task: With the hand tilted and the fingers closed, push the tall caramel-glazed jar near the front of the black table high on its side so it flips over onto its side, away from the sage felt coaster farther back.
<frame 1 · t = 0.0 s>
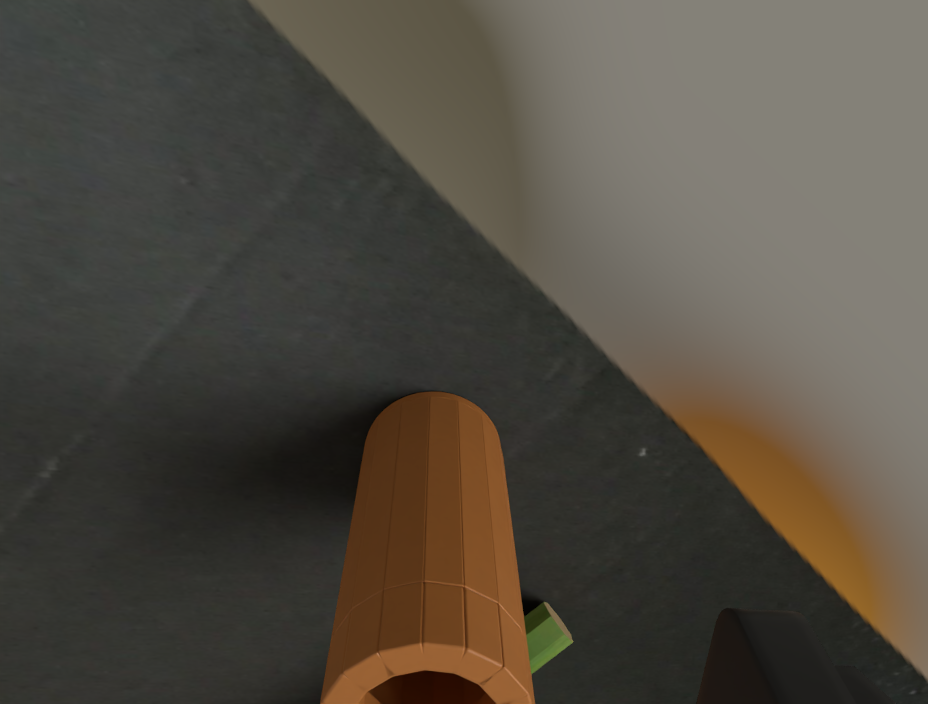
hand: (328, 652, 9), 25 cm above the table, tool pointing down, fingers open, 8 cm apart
jar: (433, 452, 37), on the table
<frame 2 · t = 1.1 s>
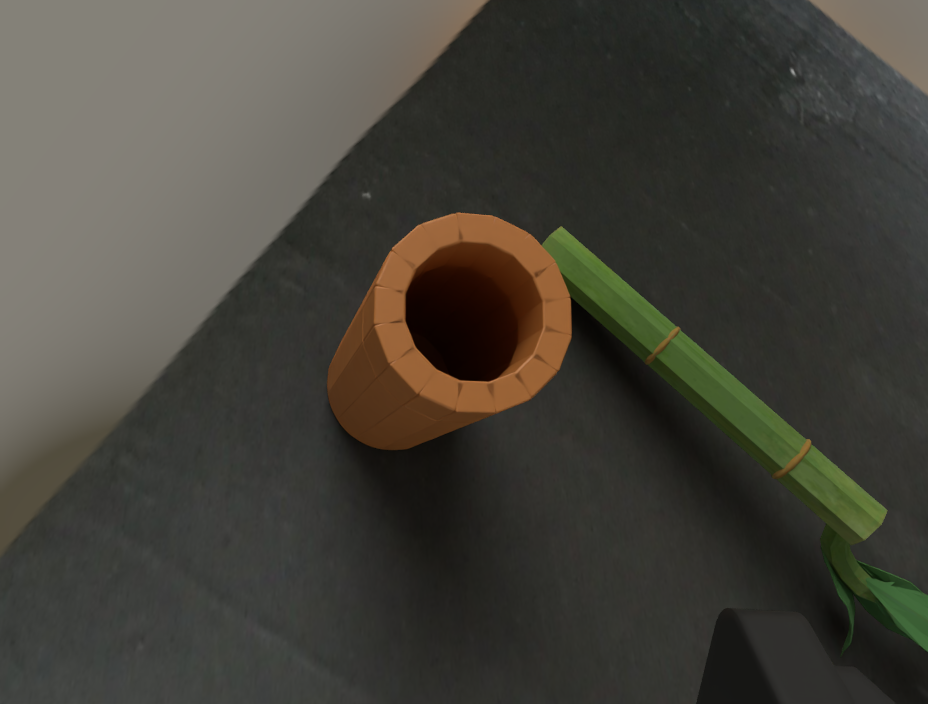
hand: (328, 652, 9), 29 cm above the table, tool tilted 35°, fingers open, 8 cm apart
jar: (391, 385, 39), on the table
decorative plant: (738, 470, 42), on the table
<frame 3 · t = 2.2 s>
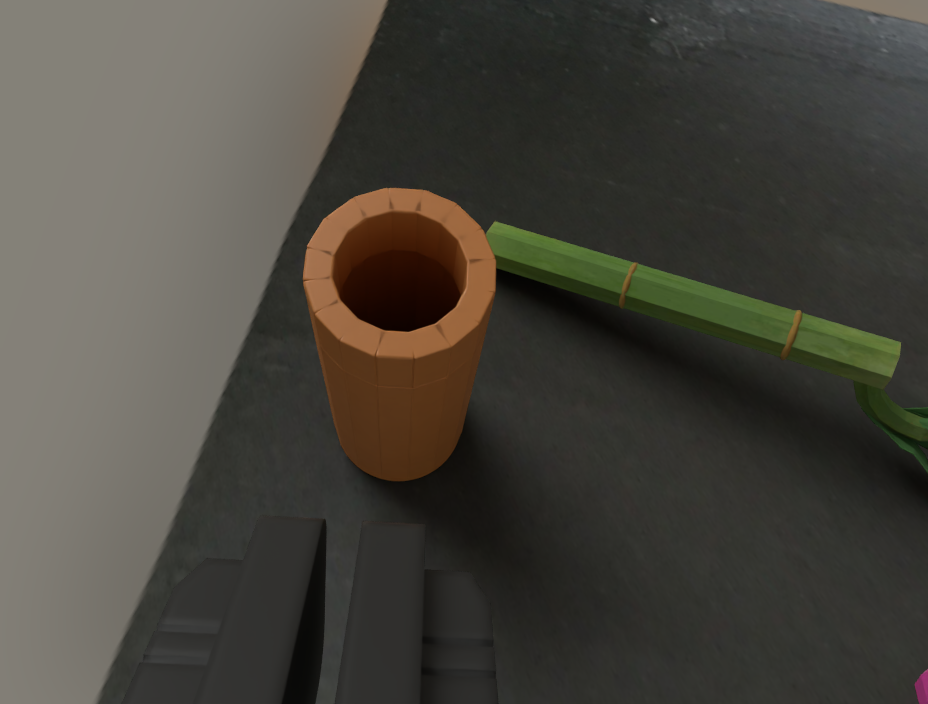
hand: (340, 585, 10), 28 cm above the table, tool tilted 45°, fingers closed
jar: (399, 420, 40), on the table
decorative plant: (755, 375, 42), on the table
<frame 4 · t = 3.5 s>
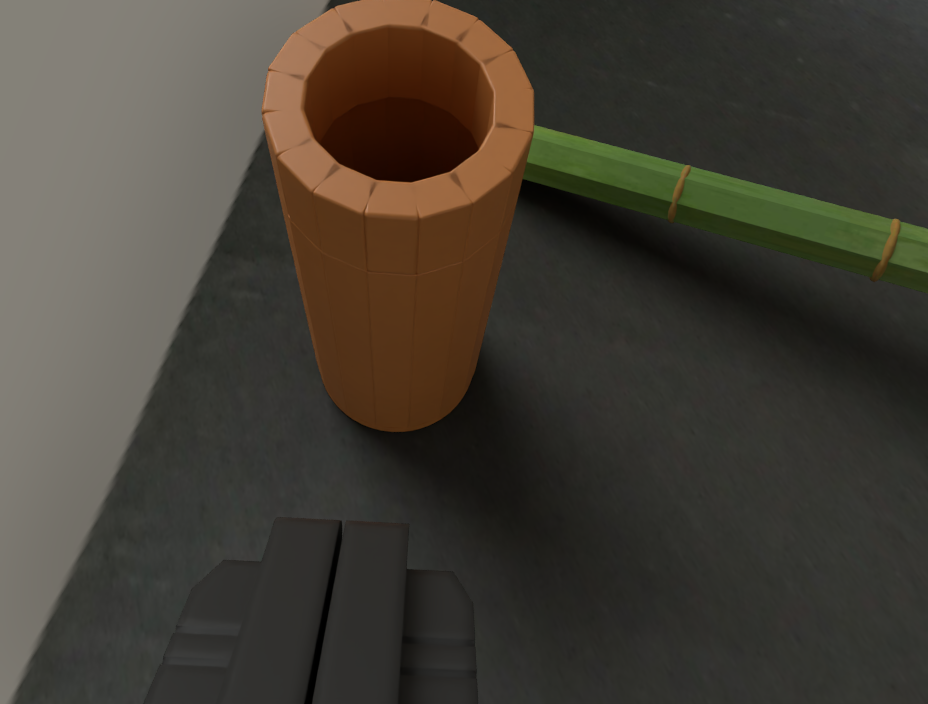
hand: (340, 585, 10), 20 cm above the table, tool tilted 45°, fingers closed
jar: (397, 358, 32), on the table
decorative plant: (831, 307, 34), on the table
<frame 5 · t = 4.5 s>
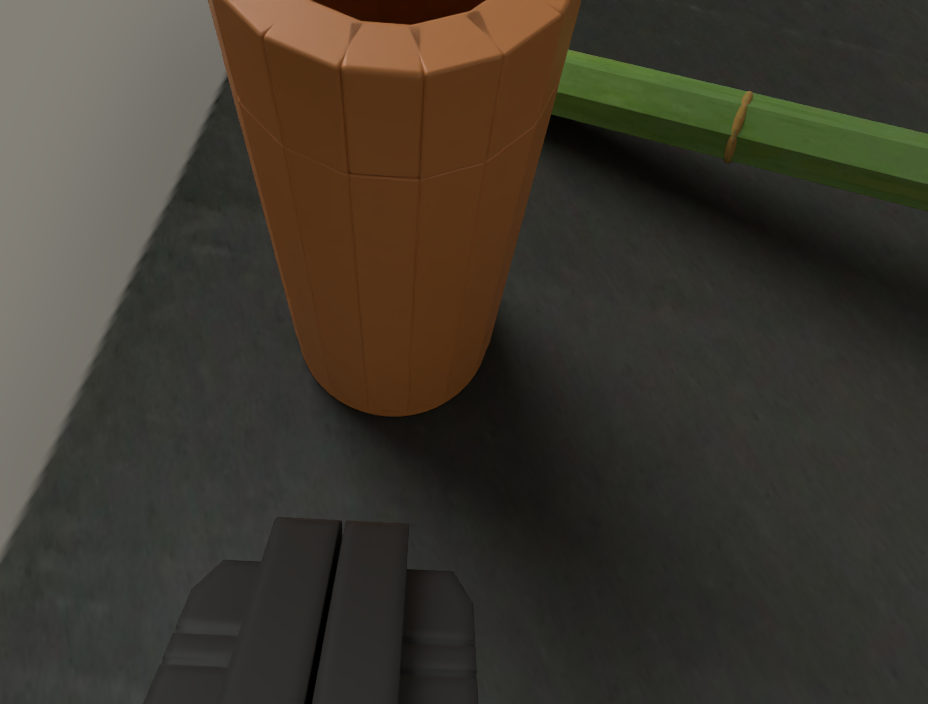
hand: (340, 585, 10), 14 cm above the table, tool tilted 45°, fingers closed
jar: (394, 327, 26), on the table
decorative plant: (918, 268, 29), on the table
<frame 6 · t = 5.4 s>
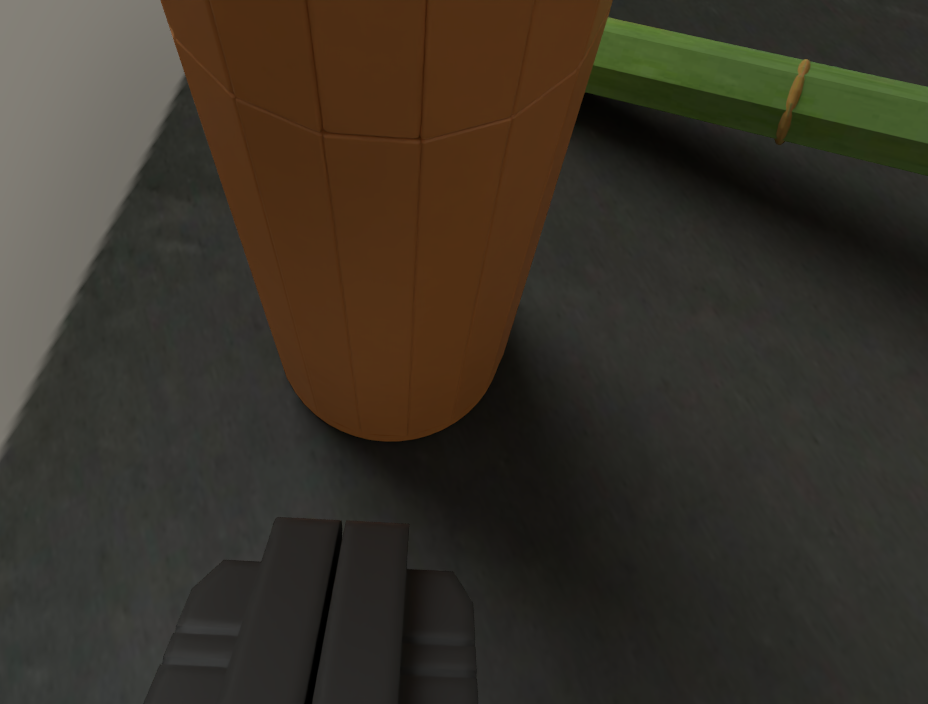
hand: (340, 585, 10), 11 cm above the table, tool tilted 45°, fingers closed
jar: (391, 335, 23), on the table
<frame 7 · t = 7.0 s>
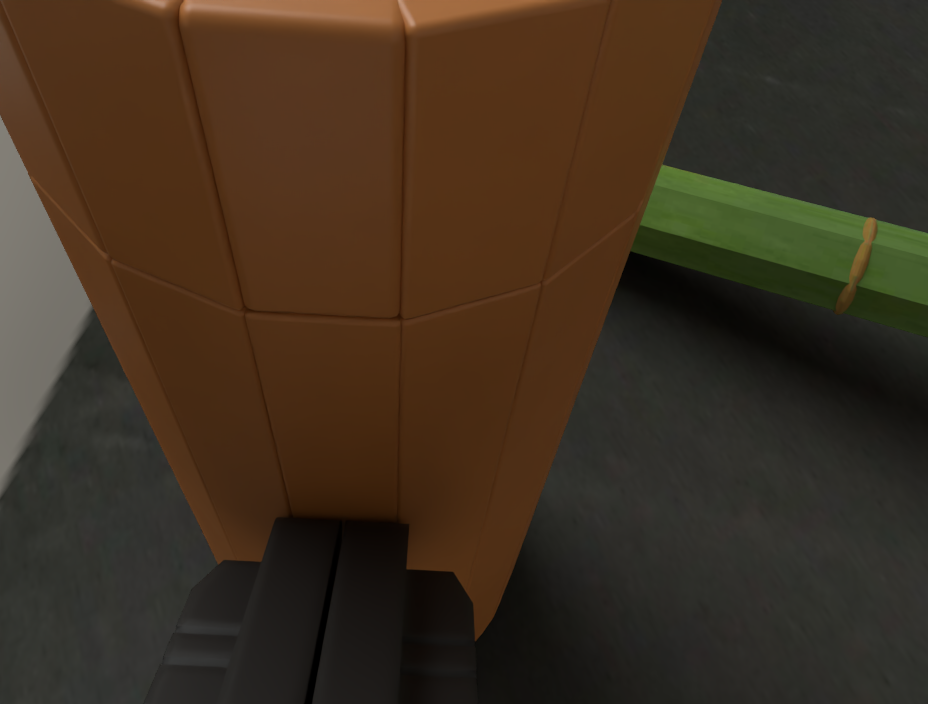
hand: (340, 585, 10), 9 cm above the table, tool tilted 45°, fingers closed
jar: (373, 547, 18), point 1 cm above the table, tilted 11°
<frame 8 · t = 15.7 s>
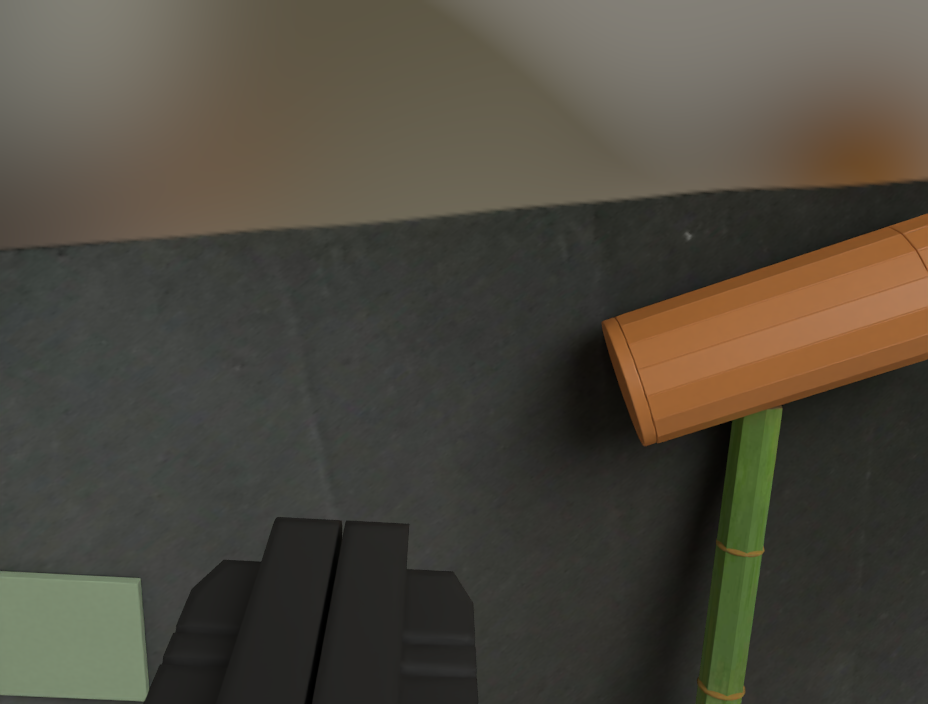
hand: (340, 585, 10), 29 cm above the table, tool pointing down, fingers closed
coaster: (70, 634, 46), on the table
jar: (622, 383, 38), point 3 cm above the table, tilted 90°
decorative plant: (692, 630, 47), on the table
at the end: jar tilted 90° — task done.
